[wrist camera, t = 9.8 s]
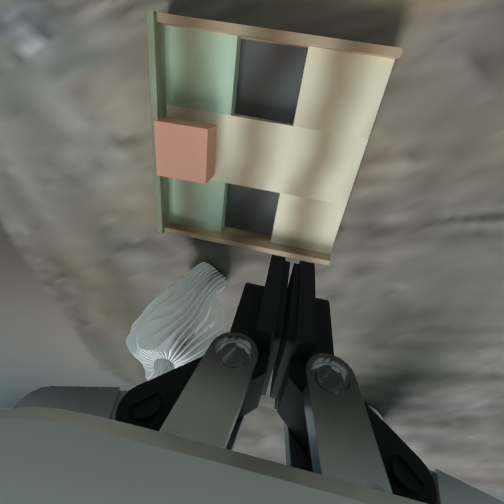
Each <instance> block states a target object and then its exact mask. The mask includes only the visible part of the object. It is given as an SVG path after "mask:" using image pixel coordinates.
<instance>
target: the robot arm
mask: <svg viewBox="0 0 504 504" xmlns="http://www.w3.org/2000/svg"><path fill="white" fill-rule="evenodd" d="M289 268H290V262H287V261H285V257H281V256H276V255H272V257H271V262H270V266H269V271H268V275H267V280H266V284H265V287H264V286H260V285H255V284H251V283H246V284H245V287H244V290H243V293H242V296H241V299H240V303H239V306H238V309H237V312H236V315H235V318H234V321H233V324H232V327H231V331H230V332H227V333H224V334H221V335H219V336H218V337H216V338H215V339H214V340H213V341H212V342H211V344H210V346H209V347H208V349H207V351H206V353H205V354H204V356H202V357H199V358H197V359H195V360H193V361H191V362H188V363H186V364H184V365H182V366H180V367H177V368H175V369H173V370H171V371H169V372H166V373H164V374H162V375H160V376H158V377H155V378H153V379H151V380H149V381H147V382H144V383H142V384H140V385H138V386H136V387H134V388H133V389H131V390H129V391H120V388H119V387H85V386H84V387H83V386H82V387H81V386H48V387H41V388H38V389H36V390H34V391H31V392H30V393H28V394H27V395H25V396H24V397H23V398H21V399H20V400H19V401H18V402H17V403H16V404H15V406H14V407H13V408H6V409H0V504H504V502H503V501H501V500H499V499H497V498H495V497H493V496H491V495H489V494H486V493H484V492H482V491H480V490H478V489H476V488H474V487H472V486H470V485H468V484H466V483H464V482H462V481H460V480H458V479H456V478H454V477H452V476H450V475H448V474H446V473H444V472H442V471H440V470H438V469H436V470H435V471H434V472H433V471H431V470H429V469H428V468H427V467H426V465H425V464H424V463H423V462H422V461H421V459H420V458H419V457H418V456H417V455H416V454H415V453H414V452H413V451H412V450H411V449H410V448H409V447H408V446H407V445H406V444H405V443H404V442H403V441H402V440H401V439H400V438H399V437H398V435H397V434H396V433H395V432H394V431H393V430H392V429H391V428H390V427H389V426H388V425H387V424H386V423H385V422H384V421H383V420H382V419H381V418H380V417H379V416H378V415H377V414H376V413H375V412H374V411H373V410H372V409H371V408H370V407H369V406H368V405H367V404H366V403H365V402H364V401H363V398H362V395H361V391H360V388H359V385H358V382H357V379H356V376H355V374H354V372H353V370H352V369H351V368H350V366H349V365H348V364H347V363H346V362H344V361H343V360H342V359H341V358H339V357H336V356H334V351H333V339H332V328H331V317H330V305H329V301H328V300H324V299H319V298H315V265H314V263H309V262H304V261H300V263H299V264H296V263H294V265H293V269H292V273H291V277H290V281H289V284H288V277H289ZM287 286H288V288H287ZM273 366H274V367H273ZM272 370H273V375H272V383H271V391H270V397H272V398H275V407H274V409H278V410H277V412H278V414H279V415H280V416H281V418H282V419H283V421H284V422H285V423H284V439H285V455H286V465H284V464H280V463H276V462H272V461H269V460H265V459H261V458H257V457H254V456H250V455H246V454H242V453H239V452H235V451H233V448H234V445H235V443H236V440H237V437H238V434H239V431H240V429H241V426H242V423H243V420H244V416H245V415H246V414H247V413H249V412H251V411H252V410H254V409H255V408H257V407H258V404H259V400H260V396H261V395H264V396H265V394H266V391H267V387H268V384H269V380H270V377H271V373H272Z"/></svg>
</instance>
